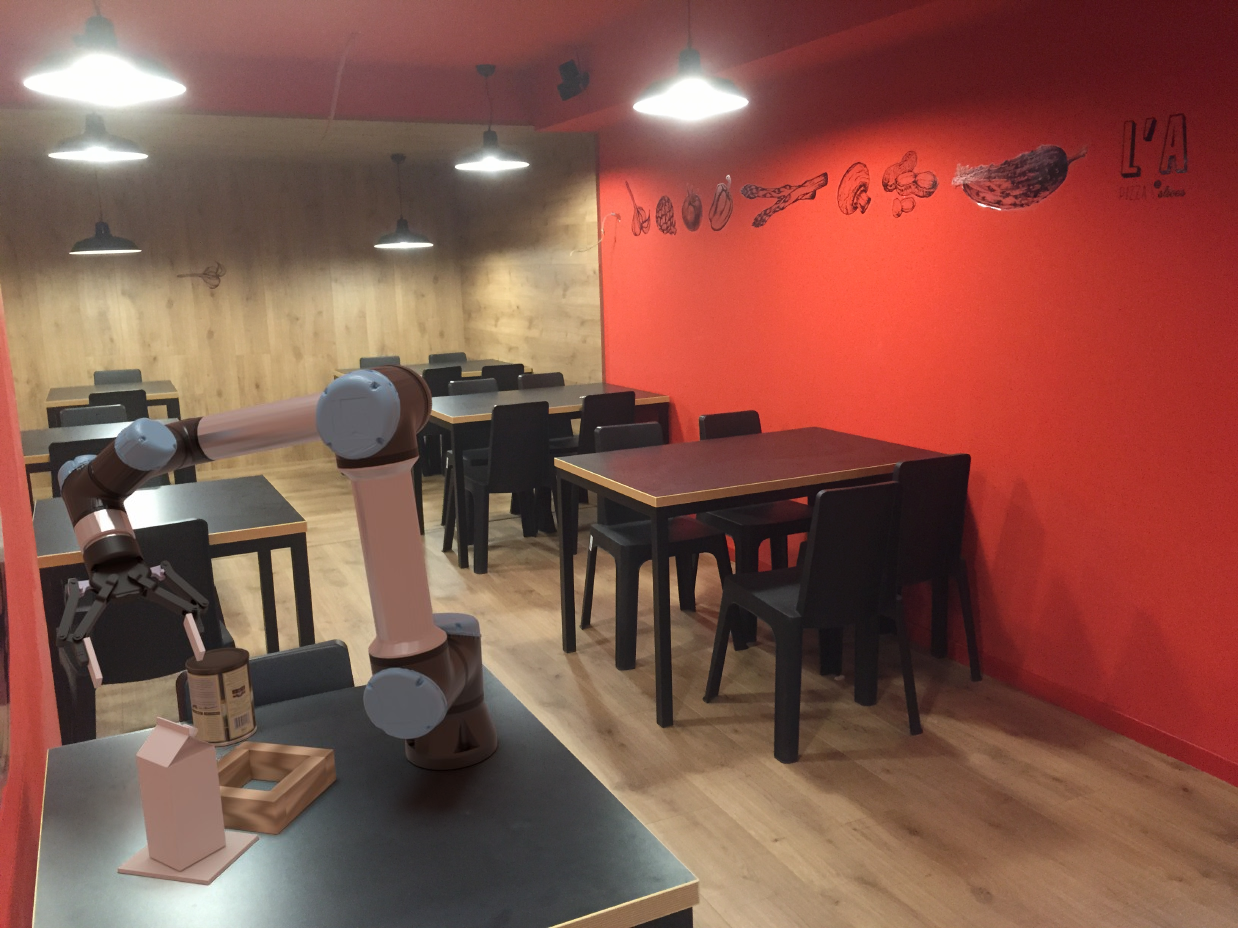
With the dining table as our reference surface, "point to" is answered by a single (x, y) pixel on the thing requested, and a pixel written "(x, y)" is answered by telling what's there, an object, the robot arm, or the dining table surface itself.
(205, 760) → the milk carton
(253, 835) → the pink mat
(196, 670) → the coffee can
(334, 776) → the frame
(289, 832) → the dining table surface
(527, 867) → the dining table surface
